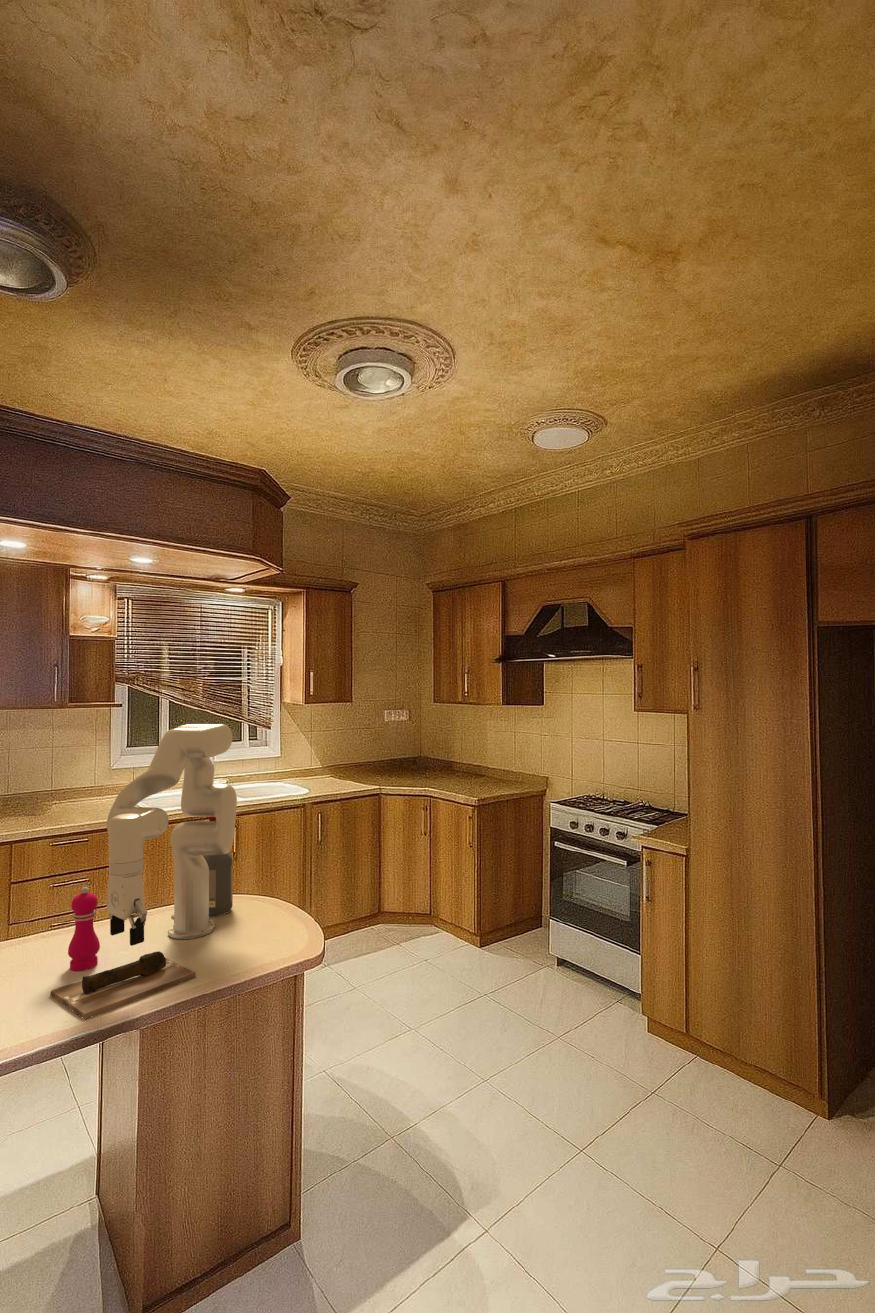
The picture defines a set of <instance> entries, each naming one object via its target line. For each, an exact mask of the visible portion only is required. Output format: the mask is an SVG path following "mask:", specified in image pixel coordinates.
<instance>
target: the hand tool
mask: <svg viewBox="0 0 875 1313" xmlns="http://www.w3.org/2000/svg"><path fill="white" fill-rule="evenodd" d="M165 966H166V957H165V955H164V953H163V952H161V951H153V952H151V953H146V954H143V955H141V956H139V959H137V960H135V961H131V962H130V963H126V964H124V965H120V966H117V967H114V968H112V969H108V970H106V969H105V970H104V971H101V972H97V973H94V974H90V975H87V976H86V975H83V976H82V979H81V980H82V989H83V992H84V993H85V994H89V993H90V992H92V991H93V992H95V991H96V990H97V989H100V988H103V987H106V986H108V985H111V984H114V983H118V982H121V981H124V980H127V979H129V978H132V977H135V976H139V975H141V976H148V975H150V974H153V973H154V972H157V971H159V970H160V969H162V968H164V967H165Z"/></svg>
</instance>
